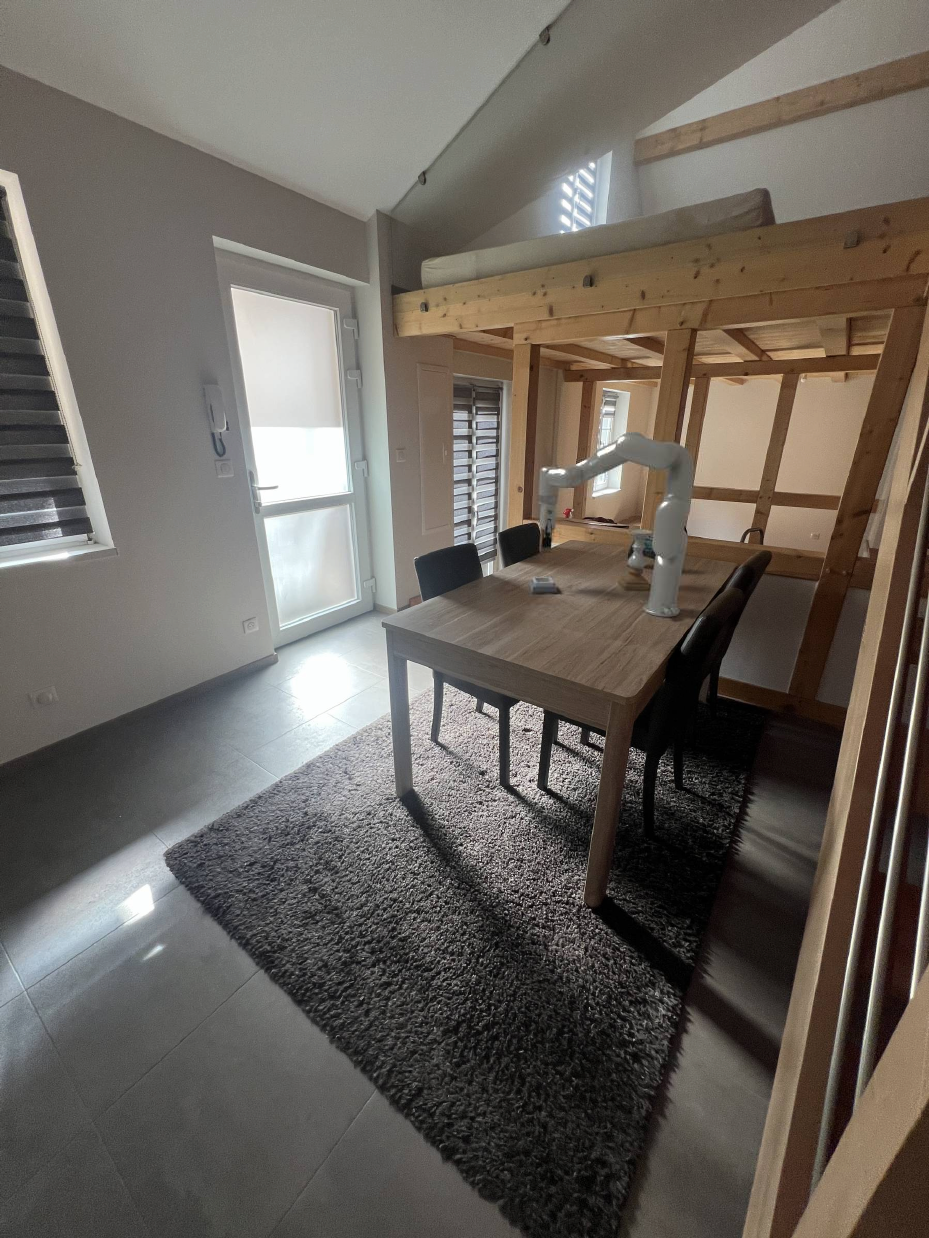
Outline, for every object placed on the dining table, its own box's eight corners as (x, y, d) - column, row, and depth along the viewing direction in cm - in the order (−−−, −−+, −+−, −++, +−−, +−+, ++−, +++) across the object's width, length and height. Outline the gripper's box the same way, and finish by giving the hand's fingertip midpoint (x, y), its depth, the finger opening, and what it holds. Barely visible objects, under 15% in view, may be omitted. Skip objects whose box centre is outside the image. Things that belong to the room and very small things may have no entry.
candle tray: (556, 593, 203) (557, 583, 201) (532, 593, 203) (532, 583, 201) (552, 586, 212) (552, 576, 210) (528, 586, 212) (529, 576, 210)
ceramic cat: (670, 572, 231) (676, 530, 224) (664, 575, 227) (671, 532, 219) (630, 564, 244) (635, 524, 237) (624, 567, 240) (629, 526, 232)
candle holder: (650, 590, 207) (658, 534, 198) (624, 590, 207) (631, 534, 198) (642, 582, 217) (649, 528, 208) (617, 582, 217) (623, 528, 208)
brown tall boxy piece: (550, 552, 199) (552, 523, 195) (541, 552, 199) (542, 523, 195) (549, 550, 203) (550, 521, 199) (539, 550, 203) (540, 521, 199)
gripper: (561, 502, 186) (558, 550, 193) (553, 496, 201) (550, 540, 208) (542, 502, 186) (539, 550, 193) (535, 496, 201) (532, 541, 208)
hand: (545, 545), depth 200 cm, fingers closed on brown tall boxy piece, 3 cm apart
